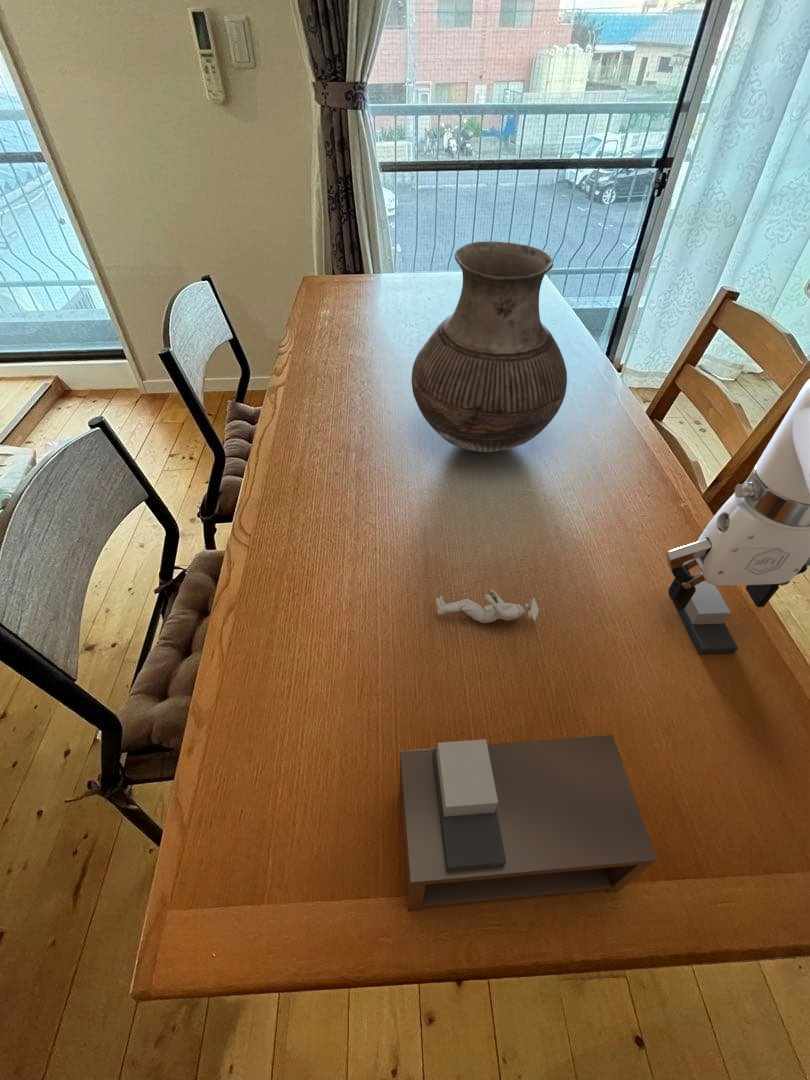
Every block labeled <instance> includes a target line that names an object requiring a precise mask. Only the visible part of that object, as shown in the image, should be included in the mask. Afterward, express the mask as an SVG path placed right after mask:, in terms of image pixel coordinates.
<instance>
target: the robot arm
mask: <svg viewBox="0 0 810 1080" xmlns="http://www.w3.org/2000/svg"><path fill="white" fill-rule="evenodd" d="M665 556H666V560H667V566H668V567H669V569H670V572H671V573H672V575H673V577H674V579H673V580H672V582H671V584H670V586H669V587H668V591H667V593H668V596H669V599H670V600H672V602H673V601H674V602H673V604H674V606H675V608H676V610H677V609H678V610H683V609H684V608H685V607H686V606H687V604H688V602H689V601H690V599H691V598H692V596H693V595H694V593H695V591H696V588H695V585H697V584H699V583H701V582H708V583H710V584H713V585H716V586H722V587H723V586H745V590H746V592H747V593H748V595H749V597H750V599H751V600H752V602H753V604H754V605H755V606H756V608H764V607H765V606H766V605H767V603H768V602H769V601H770V600H771V598H773V596H774V595H775V594H776V592H778V590H779V589H780V587H783V586H786V585H788V584H790V582H791V580H793V579H794V578H795V577H796V576H798V575H800V574H803V573H805V572H806V571H807V570H808V567H810V378H808V379H807V381H806V382H805V383H804V384H803V386H802V388H801V389H800V391H799V392H798V394H797V396H796V398H795V399H794V401H793V402H792V404H791V406H790V408H789V409H788V410H787V413H786V414H785V415H784V417H783V419H782V420H781V422H780V424H779V425H778V426H777V428H776V430H775V432H774V434H773V435H772V437H771V439H770V440H769V442H768V444H767V445H766V447H765V448H764V450H763V452H762V454H761V455H760V457H759V458H758V460H757V462H756V464H755V465H754V467H753V468H752V470H751V472H750V473H749V475H748V477H747V479H746V480H745V482H744V483H742V484H741V483H737V484H736V485H735V487H734V493H733V494H732V495H731V496H730V497H729V498H728V499H727V500H726V501H725V502H724V504H723V505H722V506H721V507H720V508H719V509H718V510H717V512H716V513H715V514H714V516H713V517H712V518H711V520H710V521H709V522H708V524H707V525H706V527H705V528H704V530H703V531H702V532H701V534H700V535H699V538H698V539H697V541H696V542H692V543H689V544H687V545H683V546H680V547H676V548H673V549H670V550H668V551H667V552H666V553H665ZM697 566H698V568H699V569H700V570H699V571H698V572H696V573H695V574H693V575H692V574H691V572H690V570H691V569H693V568H695V567H697ZM678 610H677V611H678Z"/></svg>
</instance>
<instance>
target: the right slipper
mask: <svg viewBox="0 0 810 1080" xmlns="http://www.w3.org/2000/svg"><path fill="white" fill-rule="evenodd" d="M695 588H696V591H695V593H694V595H693V596H692V598H691V599H690V601H689V602H688V604H687V606H686V607H685V608H684V609H683V610H678V609H677V608H676V610H677V612H678V614H679V617H680V618H681V621H682V623H683V624H684V627H685V628H686V631H687V633H688V635H689V638H690V639H691V641H692V643H693V646H694V647H695V650H696V652H697V654H698V655H721V654H722V655H723V654H734V653H735V652H736V651H737V650H738V649H739V647H738V645H737V643H736V641H735V639H734V637H733V636H732V634H731V632H730V630H729V628H728V627H727V624H726V623H725V622H726V621H727V619H728V618H729V617H730V615H731V614H732V612H731V610H730V608H729V607H728V605H727V603H726V601H725V600H724V598H723V596H722V594H721V593H720V591H719V588H718V587H717V585H713V584H710V583H708V582H707V581H703V582H701V583H699V584H697V585H695ZM672 603H674V601H673V600H672Z"/></svg>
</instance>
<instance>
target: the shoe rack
mask: <svg viewBox="0 0 810 1080" xmlns="http://www.w3.org/2000/svg"><path fill="white" fill-rule="evenodd" d="M487 746H488V752H489V757H490V762H491V767H492V773H493V778H494V783H495V788H496V794H497V799H498V804H497V807H496V810H497V815H498V821H499V826H500V832H501V837H502V842H503V848H504V853H505V858H506V863H505V865H504V866H503V867H493V868H482V869H471V870H461V871H450V872H448V871H447V870H446V862H445V853H444V845H443V836H442V828H441V820H440V811H439V803H438V795H437V786H436V778H435V770H434V761H433V749H434V748H424V749H411V750H400V751H399V791H398V792H399V806H400V807H399V810H400V820H401V822H400V823H401V835H402V850H403V861H404V874H405V875H404V876H405V890H406V902H407V904H406V905H407V912H417V911H418V912H419V911H422V909H423V908H428V907H438V906H449V905H450V906H451V905H459V904H469V903H478V902H491V901H500V900H501V901H502V900H510V899H511V900H512V899H521V898H522V899H523V898H531V897H543V896H551V895H552V896H553V895H563V894H574V893H575V894H576V893H584V892H593V891H594V892H596V891H603V890H604V891H606V893H614V892H620V891H621V890H623V889H624V888H625V887H626V886H627V885H629V883H632V881H633V880H634V879H636V878H637V877H638V876H640V875H641V874H642V873H643V872H644V871H646V870H647V869H648V868H649V867H650V866H652V865H653V864H654V863H655V862H657V860H658V858H657V856H656V854H655V851H654V847H653V845H652V841H651V839H650V836H649V833H648V831H647V828H646V824H645V822H644V819H643V816H642V814H641V810H640V808H639V805H638V802H637V799H636V797H635V794H634V791H633V788H632V786H631V783H630V780H629V777H628V775H627V772H626V768H625V766H624V763H623V761H622V757H621V755H620V751H619V749H618V746H617V743H616V740H615V738H614V735H613V734H605V735H594V736H593V735H591V736H579V737H568V738H554V739H542V740H540V739H539V740H528V741H527V740H526V741H516V742H514V741H513V742H502V743H489V744H488V743H487ZM435 749H437V747H436V748H435Z"/></svg>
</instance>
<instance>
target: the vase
mask: <svg viewBox="0 0 810 1080" xmlns="http://www.w3.org/2000/svg"><path fill="white" fill-rule="evenodd" d="M454 260H455V261H456V263H457V264H458V266H459V267H460V269H461V273H462V285H461V286H462V287H461V292H460V295H459V299H458V300H457V304H456V307H455V309H454V311H453V312H452V313H451V314H450V315H448V316H447V317H446V318H444V319H443V320H442V321H441V322H440V323H439V324H438V326H437V327H436V328H435V330H434V331H433V332H432V333H431V335H430V336H429V338H428V339H427V340H426V342H424V344H423V346H422V347H421V348H420V350H419V351H418V353H417V355H416V357H415V359H414V362H413V365H412V371H411V389H412V394H413V398H414V400H415V403H416V405H417V407H418V409H419V411H420V413H421V415H422V417H423V418H424V420H426V422H427V423H428V424H429V426H430V427H431V428H432V429H433V430H434V431H435V432H436V433H437V434H438V435H439V436H440V437H441V438H442V439H443V440H444V441H446V442H448V444H451V445H453V446H455V447H457V448H460V449H463V450H466V451H472V452H478V453H492V452H499V451H505V450H510V449H513V448H517V447H519V446H522V445H524V444H527V443H529V441H531V440H532V439H534V438H535V437H537V436H538V435H539V434H540V433H541V432H542V431H544V429H546V427H548V425H549V424H550V423H552V420H553V419H554V418H555V416H556V415H557V414H558V412H559V411H560V408H562V405H563V402H564V399H565V396H566V393H567V385H568V371H567V367H566V363H565V359H564V356H563V354H562V352H561V348H560V347H559V345H558V343H557V341H556V339H555V337H554V336H553V334H552V333H551V331H550V330H549V329H548V327H546V326H545V325H544V324H543V323H542V321H541V316H540V292H541V286H542V283H543V280H544V278H545V275H546V274H547V273H548V272H549V271H551V270H552V268H553V267H554V260H553V259H552V257H551V256H550V255H549V254H548V253H546V252H545V251H542V249H539V248H537V247H534V246H531V245H526V244H521V243H513V242H505V241H491V240H490V241H486V240H485V241H475V242H470V243H467V244H464V245H463V246H461V247H459V248H458V249H457V250H456V251H455V252H454Z"/></svg>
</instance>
